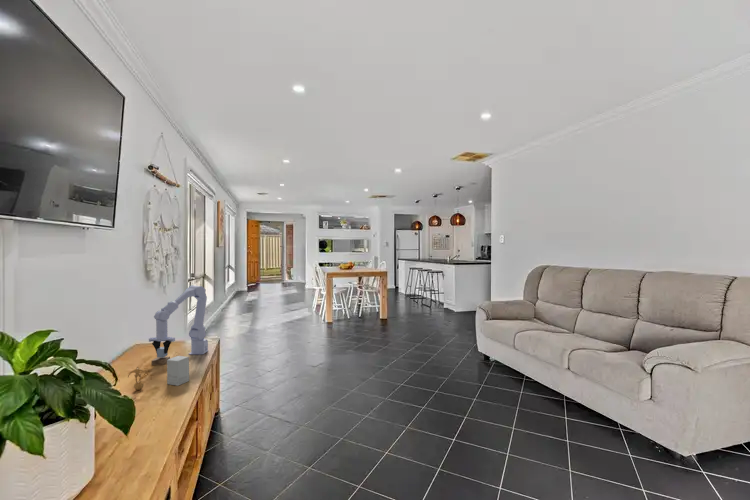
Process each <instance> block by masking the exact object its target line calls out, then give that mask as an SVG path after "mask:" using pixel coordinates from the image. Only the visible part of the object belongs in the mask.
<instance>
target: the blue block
mask: <svg viewBox="0 0 750 500" xmlns="http://www.w3.org/2000/svg"><path fill="white" fill-rule="evenodd" d="M168 354H169V353H168V352H167V353H166V354H164V346H160V348H158V349H157V353H156V358H157V357H168Z"/></svg>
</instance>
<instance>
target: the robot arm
mask: <svg viewBox="0 0 750 500" xmlns="http://www.w3.org/2000/svg"><path fill="white" fill-rule="evenodd" d="M191 297H194V298H195V299H196V307H195V308H196V309H195V314H194V322H193V324H192V325H191V327H190V330H189V332H188V336H189V338H190V344H191V345H190V347H191V351H190V352H189V353H188V355H204V354H205V353H207V352H209V342H208V341H209V340H208V339H205V337H206V335H207V333H206V327H205V326H204V320H205V313H206V306H207V301H208V297H207V293H206V289H205V287H204V286H202V285H193V284H191V285H190V286H188V287H187V288H185V291H183V292H182V293H181V294H179V296H178V297H177V298H176V299H175V300H174V301H173V300H172V301H168V302H167V304H166V305H165V306H164V307H162V308H160V310H158V311H156V312H155V313H154V316H153V318H154V319H155V322H156V324H155V326H156V328H155V330H156V331H155V333H156V336H155V337H149V338H148V342H149V343H151V342H152V343H151V344H152V346H153V347H154V350H155V354H157V349H158V348H160V347H161V342H163V343H162V345H163V347H164V354H166V353H167V352H168V351H169V349H170V346H171V344H172V342H175V341H176V337H172V336H168V320H169V319H170V316H171V315H172V314H173V313H175V311H177V309H179V305H180V304H182V303H183V302H185V300H187V299H189V298H191Z"/></svg>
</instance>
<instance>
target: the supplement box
mask: <svg viewBox="0 0 750 500" xmlns="http://www.w3.org/2000/svg"><path fill="white" fill-rule="evenodd" d="M166 375H167V376H166V379H167V380H166V381H167V382H166V384H167V385H171V386H177V387H179V386H180V385H183V384H185V383H188V382H189V381H190V357H189V356H183V355H177V356H173V357H170V359H168V360H167V363H166Z"/></svg>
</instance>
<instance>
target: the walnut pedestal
mask: <svg viewBox="0 0 750 500" xmlns="http://www.w3.org/2000/svg"><path fill="white" fill-rule="evenodd" d="M168 359H171V356H165V357H157V356H156V357H155V358H154V359H152V360H151V366H161V365H162V366H164V365H167V360H168Z"/></svg>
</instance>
